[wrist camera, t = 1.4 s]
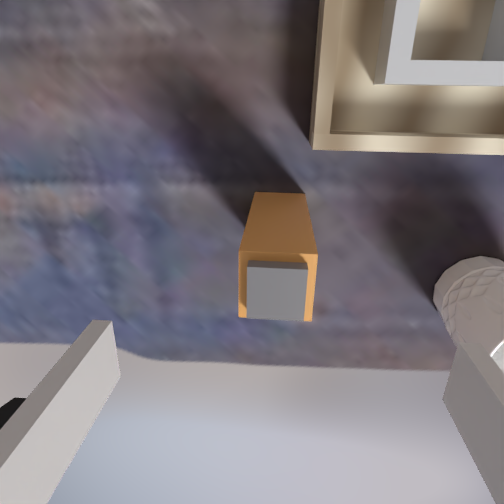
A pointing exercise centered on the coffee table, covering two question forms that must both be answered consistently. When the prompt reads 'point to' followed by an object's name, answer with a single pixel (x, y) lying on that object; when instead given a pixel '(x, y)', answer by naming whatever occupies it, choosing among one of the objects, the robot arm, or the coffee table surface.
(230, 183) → the coffee table surface
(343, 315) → the coffee table surface
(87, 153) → the coffee table surface
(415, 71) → the socket
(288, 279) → the connector
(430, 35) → the box
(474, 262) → the white cup
